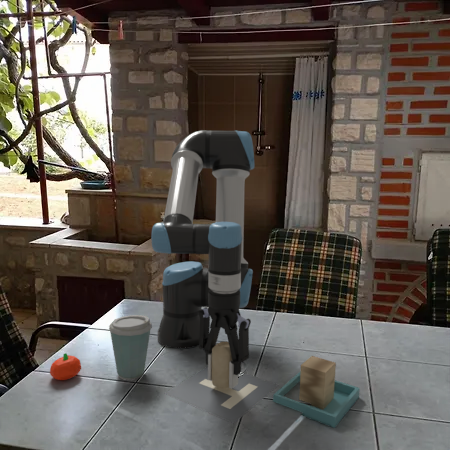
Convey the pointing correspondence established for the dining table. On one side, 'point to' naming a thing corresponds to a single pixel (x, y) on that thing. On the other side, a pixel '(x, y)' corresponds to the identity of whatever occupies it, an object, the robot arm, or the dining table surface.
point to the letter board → (222, 394)
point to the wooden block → (317, 382)
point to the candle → (221, 364)
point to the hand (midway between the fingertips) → (222, 381)
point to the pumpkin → (65, 367)
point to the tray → (332, 412)
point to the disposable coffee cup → (130, 345)
